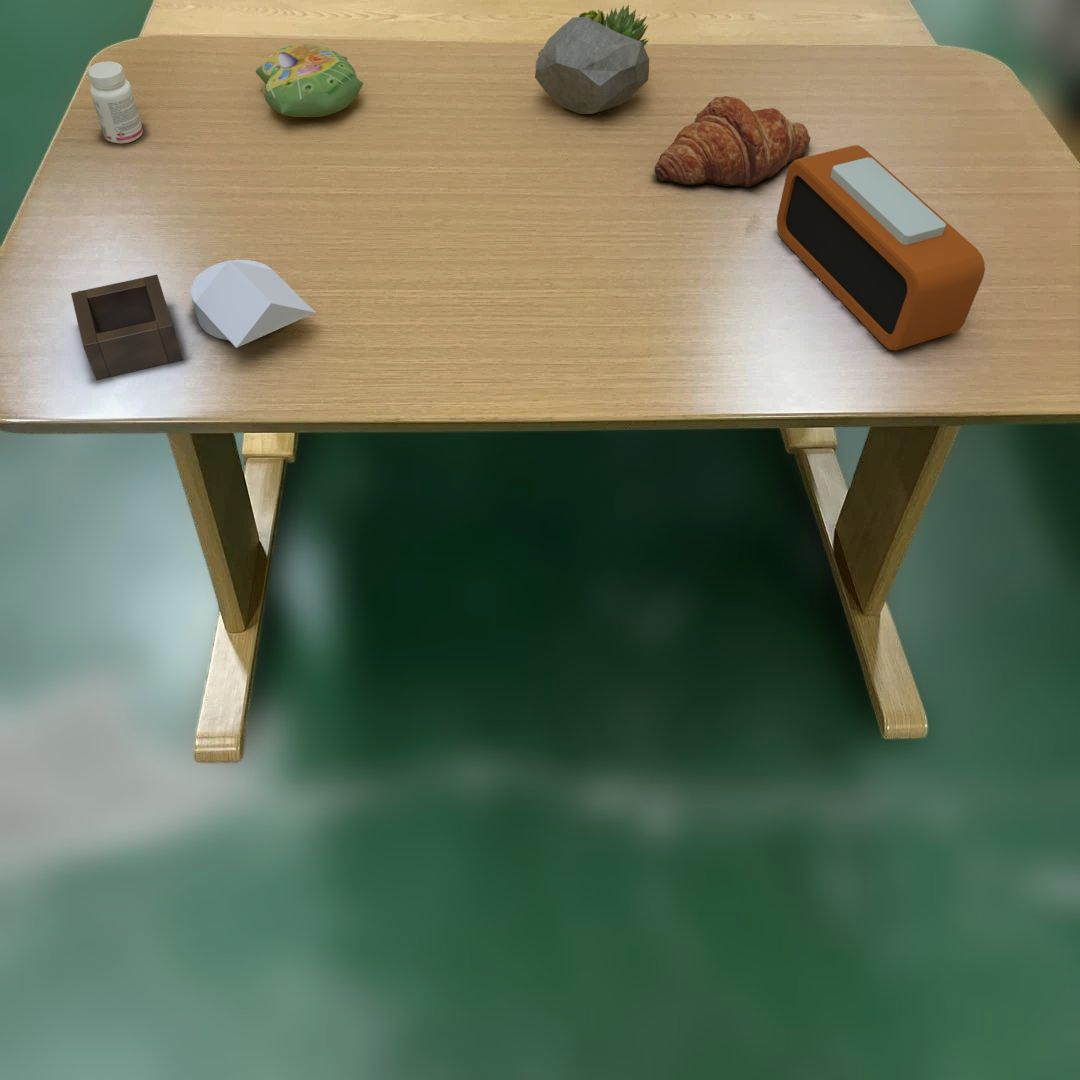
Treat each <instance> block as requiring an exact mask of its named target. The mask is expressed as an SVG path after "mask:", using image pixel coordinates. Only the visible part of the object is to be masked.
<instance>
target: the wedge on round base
mask: <svg viewBox="0 0 1080 1080" xmlns="http://www.w3.org/2000/svg"><path fill="white" fill-rule="evenodd" d="M190 296H191V300H192V303H193V307H194V311H195V315H196V319H197V322H198V325H199V327H200V328H201V329H202V331H204V332H206V333H207V334H208V335H210V336H212V337H214V338H217V339H221V340H223V341H224V340H225V341H229V342H230V343H231V344H232V345H233V346H234V347H235V348H236V349H237V348H239V347H241V346H243V345H246V344H248V343H251V342H253V341H255V340H258V339H260V338H261V337H264V336H267V335H268V334H271V333H273V332H275V331H277V330H279V329H282V328H284V327H286V326H289V325H291V324H293V323H295V322H298V321H300V320H302V319H305V318H306V317H309V316H311V315H314V314H316V311H315V310H314V309H313V308H312V307H311V306H310V305H309V304H308V303H307V302H306V301H305V300H304V299H303V298H302V297H301V296H300V295H299V294H298V293H297V292H296V291H295V290H294V289H293V288H292V287H291V286H290V285H289V284H288V283H286V281H285V279H282V278H281V276H279V274H278V273H277V272H276V271H274V269H273V268H271V267H270V266H268V265H267V264H264V263H263V262H259V261H257V260H251V259H250V260H249V259H232V260H231V259H228V260H226V261H222V262H218V263H215V264H213V265H211V266H209V267H207V268H205V269H204V270H201V272H200V273H198V275H196V277H195V278H194V279H193V281H192V283H191V286H190Z"/></svg>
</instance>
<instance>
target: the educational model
mask: <svg viewBox="0 0 1080 1080" xmlns="http://www.w3.org/2000/svg"><path fill="white" fill-rule="evenodd" d="M255 74H256V75H257V76H258V77H259V79H261V81H262V82H263V83H264V84H265V88H264V91H263V97H264V99H265V102H266V103H267V105H268V106H269V107H270V108H271V109H272V110H273V111H275V112H276V113H278V114H280V115H283V116H287V117H292V118H318V117H326V116H330V115H334V114H336V113H339V112H341V111H343V110H345V109H346V108H347V107H349V106H350V105H351V104H352V103H353V101H354V100H355V99H356V97H358V95H359V93H360V91H361V89H362V88H363V86H364V82H363V81H361V80H360V79H359V78H358V77H357V73H356V71H355V69H354V66H353V65H352V64H351V63H350V62H349V61H348V57H346V56H344V55H341V54H340V53H338V52H337V51H335V50H334V49H331V48H328V47H325V46H321V45H316V44H307V43H306V44H305V43H303V44H302V43H301V44H292V45H288V46H287V45H286V46H284V47H281V48H280V49H276V51H274V52H272V53H271V54H270V55H269V56H268V57H267V58H266V60H265V61H264V62H263V64H262V65H260V66H258V67H257V68H256V70H255Z"/></svg>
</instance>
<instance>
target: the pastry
mask: <svg viewBox="0 0 1080 1080" xmlns="http://www.w3.org/2000/svg"><path fill="white" fill-rule="evenodd" d="M810 143H811V136H810V134H809V130H808V128H807V127H806V126H805V124H803V123H801V122H792V121H791V120H789V119H788V118H786V116H785V115H784V114H783V113H781V111H780V110H778V109H776V108H773V107H772V108H771V107H770V108H763V109H756V110H752V109H751V108H750V107H749V106H748V105H747V104H746V103H745V102H744V101H743V100H742V99H740V98H737V97H734V96H727V95H725V96H715V97H714V98H713V99H711V100H710V102H709V103H707V105H706V106H705V107H704V108H703V109H702V110H700V111H699V112H698V113H696V116H695V118H694V122H693V123H690V124H688V125H686V126H684V127H683V128H682V129H681V130H680V131H679V132H678V133H677V135H676V137H675V139H674V141H673V142H672V143H671V144H670V146H669V147H668V148H667V149H665V150H664V151H663V152H662V153H661V154H660V156H659V158H658V160H657V162H656V164H655V166H654V174H655V176H656V179H657V180H659V181H660V182H667V181H669V182H672V183H675V184H679V185H685V186H697V185H703V184H706V185H707V184H708V185H717V186H721V187H733V186H735V187H745V188H747V189H748V188H751V187H752V186H754V185H757V184H759V183H761V181H763V180H766V179H771V178H772V177H774V175H776V174H777V173H779V172H780V170H782V168H783V167H784V166H787V164H789V163H792V162H793V161H794V160H796V159H800V158H801V156H802V155H803V154H804V153H805V152H806V151H807V149H808V147H809V146H810Z"/></svg>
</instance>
